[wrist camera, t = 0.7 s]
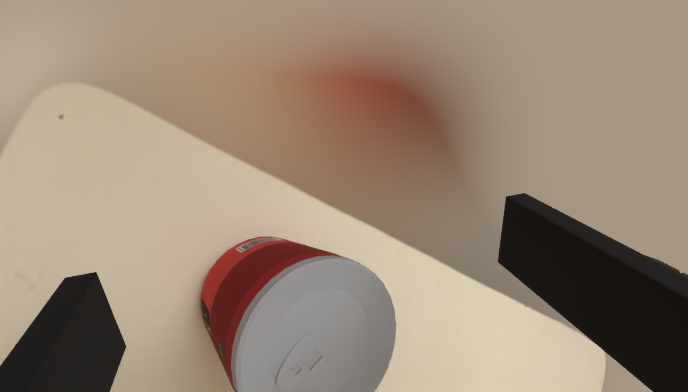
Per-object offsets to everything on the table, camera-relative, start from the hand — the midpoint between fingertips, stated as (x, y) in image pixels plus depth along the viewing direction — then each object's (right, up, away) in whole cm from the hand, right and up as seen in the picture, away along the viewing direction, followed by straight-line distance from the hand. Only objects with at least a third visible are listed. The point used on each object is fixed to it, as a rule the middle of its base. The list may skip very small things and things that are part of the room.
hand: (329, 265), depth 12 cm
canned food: (-6, -4, +14) cm, 16 cm away
